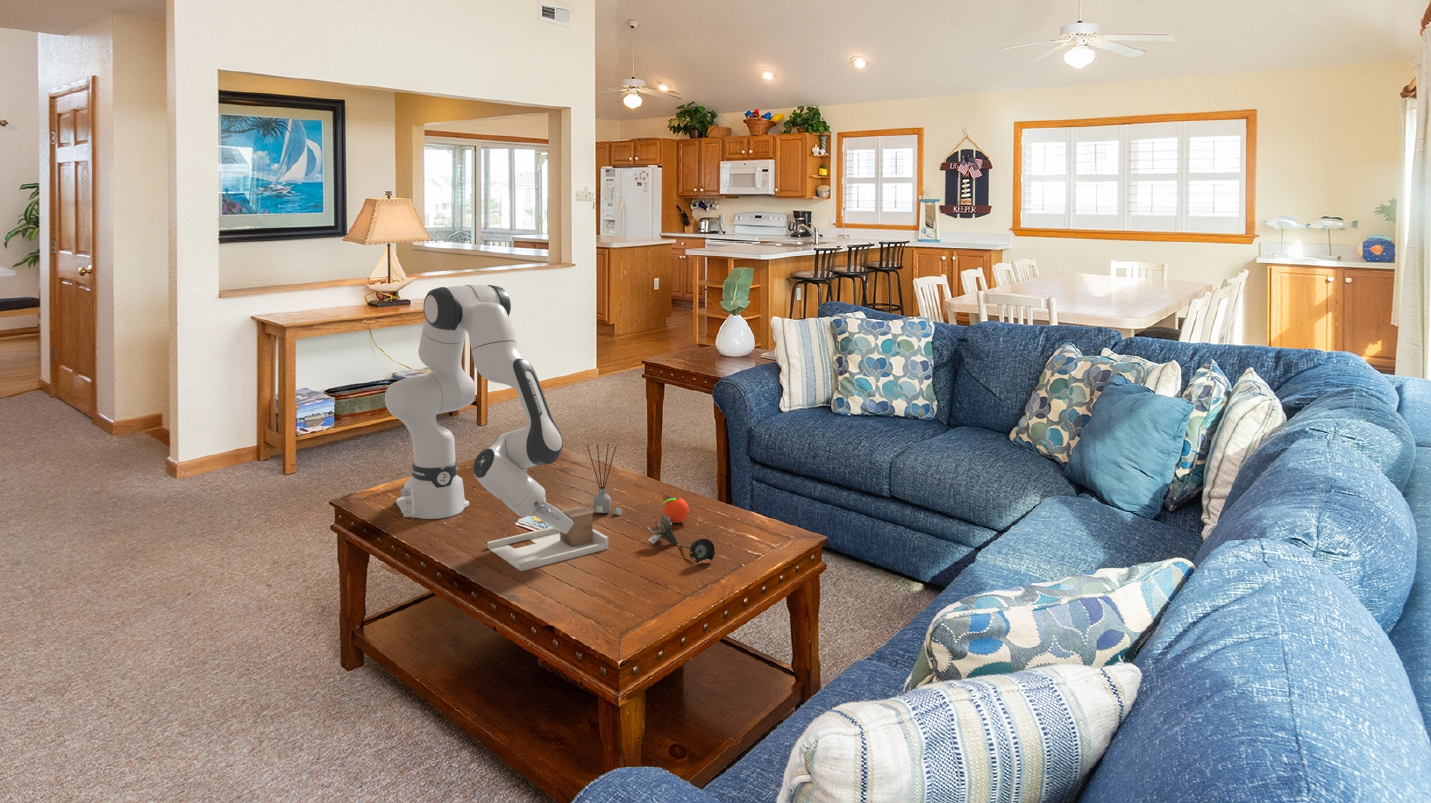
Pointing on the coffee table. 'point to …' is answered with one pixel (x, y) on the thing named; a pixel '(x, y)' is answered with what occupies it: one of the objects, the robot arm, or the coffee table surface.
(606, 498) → the reed diffuser
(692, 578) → the coffee table surface
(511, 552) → the white rimmed tray
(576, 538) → the walnut block
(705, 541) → the artificial flower
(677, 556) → the coffee table surface
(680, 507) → the clementine
